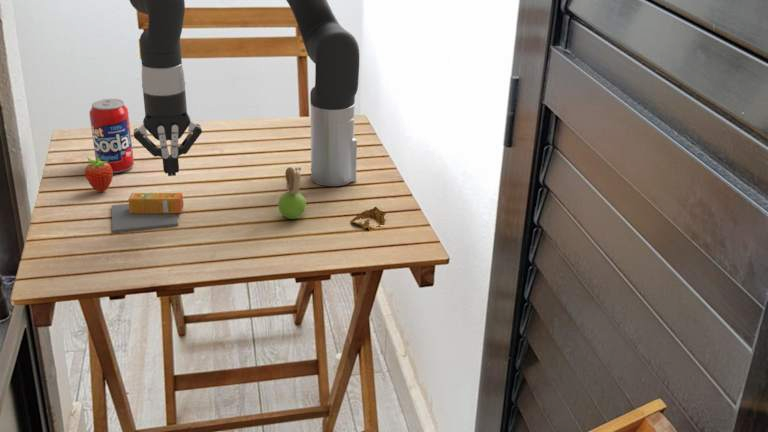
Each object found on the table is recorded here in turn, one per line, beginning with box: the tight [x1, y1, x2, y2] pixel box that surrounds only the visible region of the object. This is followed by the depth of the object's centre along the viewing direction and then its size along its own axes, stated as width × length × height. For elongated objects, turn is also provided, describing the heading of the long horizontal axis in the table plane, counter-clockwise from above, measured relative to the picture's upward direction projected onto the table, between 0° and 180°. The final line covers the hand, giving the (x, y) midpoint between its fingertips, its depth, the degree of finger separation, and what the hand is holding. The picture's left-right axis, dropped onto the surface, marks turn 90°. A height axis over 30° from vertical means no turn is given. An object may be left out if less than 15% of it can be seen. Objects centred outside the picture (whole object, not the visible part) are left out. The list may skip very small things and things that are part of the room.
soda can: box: [88, 98, 135, 174], centre depth 180 cm, size 8×8×15 cm
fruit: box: [84, 156, 114, 193], centre depth 171 cm, size 5×5×8 cm
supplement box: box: [128, 192, 184, 214], centre depth 164 cm, size 3×3×10 cm
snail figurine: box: [277, 166, 307, 220], centre depth 161 cm, size 5×6×12 cm
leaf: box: [350, 206, 386, 231], centre depth 164 cm, size 6×7×2 cm
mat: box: [111, 203, 179, 234], centre depth 163 cm, size 12×11×1 cm
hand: (171, 174), depth 160 cm, fingers closed
